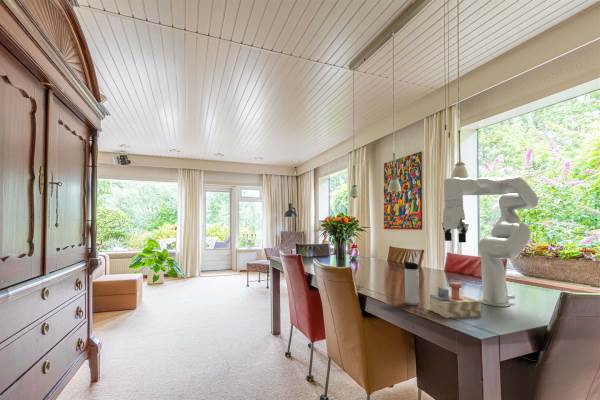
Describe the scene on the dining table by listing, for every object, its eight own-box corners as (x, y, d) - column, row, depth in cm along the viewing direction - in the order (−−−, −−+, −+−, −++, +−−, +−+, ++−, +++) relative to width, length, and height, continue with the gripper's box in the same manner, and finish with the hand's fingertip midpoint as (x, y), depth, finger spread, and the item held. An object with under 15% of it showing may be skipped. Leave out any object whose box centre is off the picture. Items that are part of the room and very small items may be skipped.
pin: (457, 310, 131) (456, 282, 132) (465, 314, 126) (463, 284, 127) (447, 311, 130) (446, 282, 131) (454, 314, 125) (453, 284, 126)
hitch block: (462, 308, 134) (462, 294, 135) (480, 316, 124) (480, 301, 124) (430, 309, 132) (429, 296, 133) (445, 317, 121) (445, 302, 122)
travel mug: (402, 302, 145) (401, 260, 146) (415, 301, 145) (414, 260, 147) (408, 305, 139) (407, 262, 140) (421, 305, 139) (420, 262, 141)
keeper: (440, 296, 131) (440, 286, 131) (449, 300, 125) (449, 290, 125) (430, 297, 130) (429, 287, 130) (438, 300, 124) (437, 290, 124)
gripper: (435, 205, 145) (436, 240, 144) (458, 203, 128) (460, 243, 127) (449, 205, 146) (450, 240, 145) (474, 203, 129) (476, 242, 128)
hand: (455, 241), depth 136 cm, fingers open, 9 cm apart
